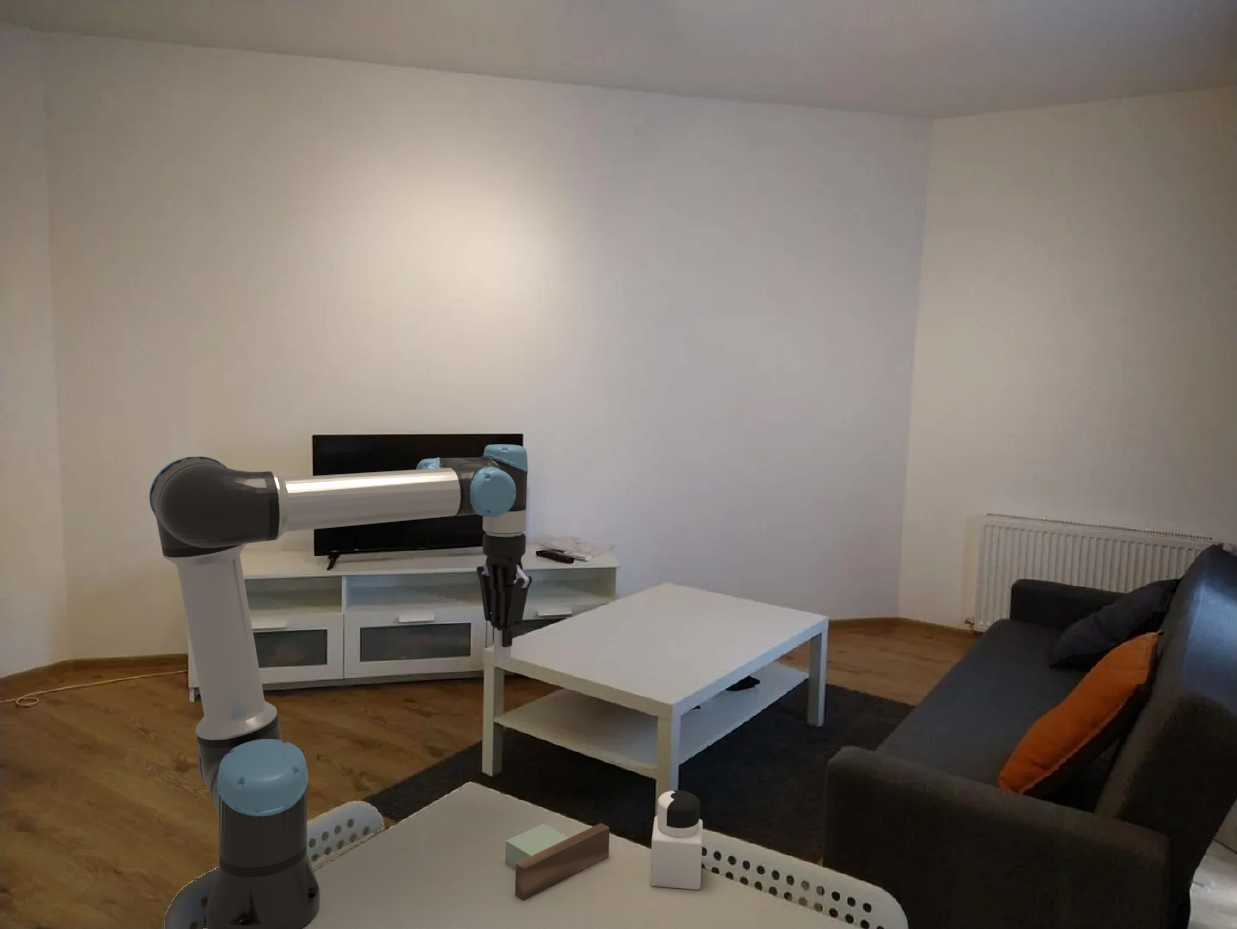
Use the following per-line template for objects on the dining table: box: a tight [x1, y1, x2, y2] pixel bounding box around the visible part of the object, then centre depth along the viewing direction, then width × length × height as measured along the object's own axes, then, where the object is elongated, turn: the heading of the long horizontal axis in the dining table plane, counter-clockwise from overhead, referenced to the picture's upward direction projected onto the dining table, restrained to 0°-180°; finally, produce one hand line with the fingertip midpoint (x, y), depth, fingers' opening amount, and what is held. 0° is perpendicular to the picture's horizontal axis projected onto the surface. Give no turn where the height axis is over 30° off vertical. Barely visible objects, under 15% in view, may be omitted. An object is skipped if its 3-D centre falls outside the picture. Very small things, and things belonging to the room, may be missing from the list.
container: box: [649, 789, 704, 891], centre depth 142 cm, size 8×8×13 cm
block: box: [504, 823, 570, 870], centre depth 144 cm, size 8×8×4 cm
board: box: [514, 822, 611, 901], centre depth 141 cm, size 2×18×5 cm, turn 136°
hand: (502, 662), depth 161 cm, fingers closed
